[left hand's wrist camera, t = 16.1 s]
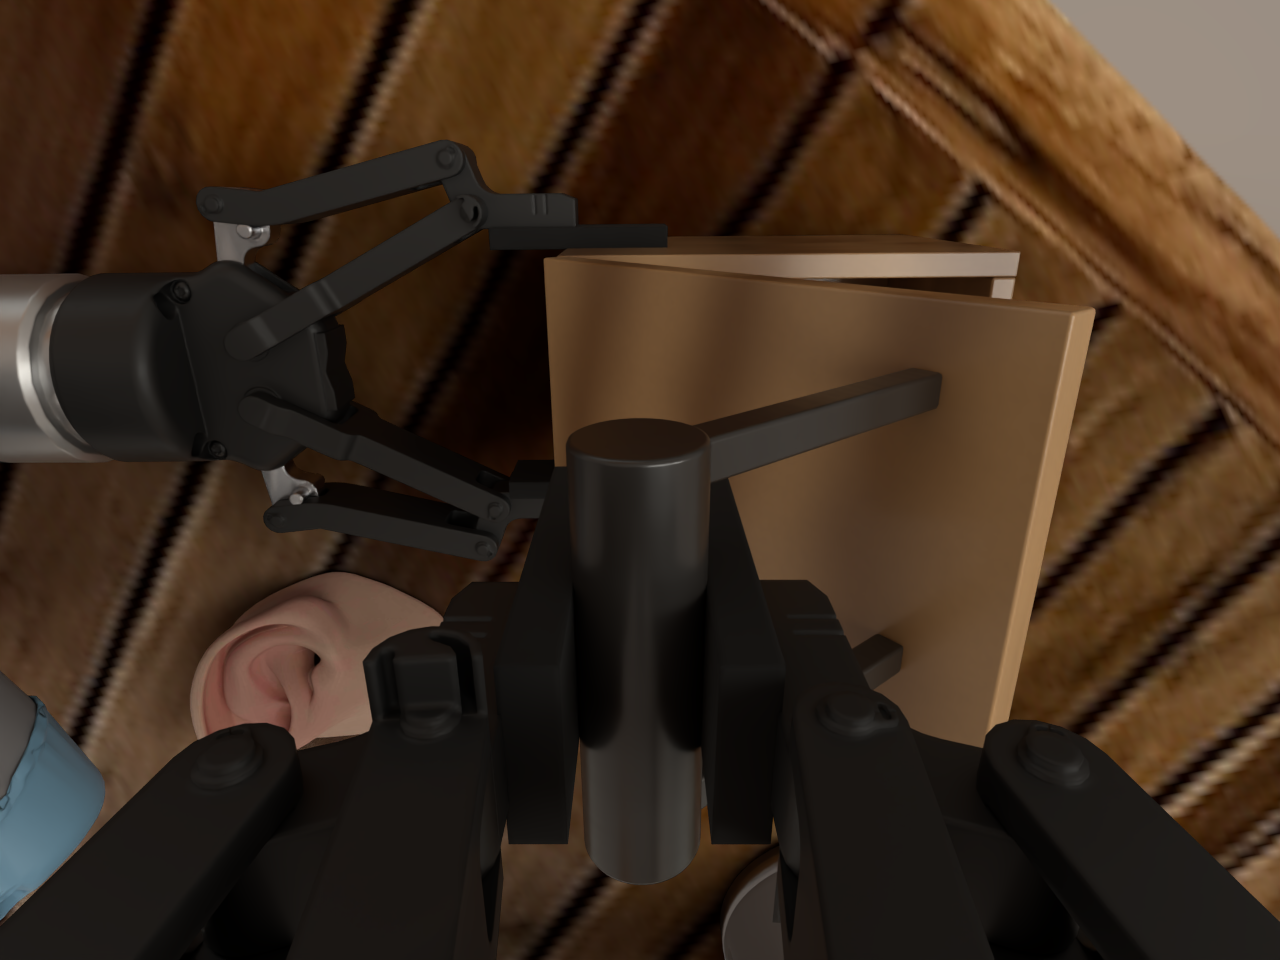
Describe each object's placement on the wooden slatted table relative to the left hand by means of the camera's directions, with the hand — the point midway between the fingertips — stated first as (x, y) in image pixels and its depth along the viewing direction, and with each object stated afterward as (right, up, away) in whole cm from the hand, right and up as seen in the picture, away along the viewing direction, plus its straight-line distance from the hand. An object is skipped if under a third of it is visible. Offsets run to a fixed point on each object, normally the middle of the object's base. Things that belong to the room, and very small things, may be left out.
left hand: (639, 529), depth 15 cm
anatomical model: (-18, -9, +27) cm, 34 cm away
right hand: (+1, +6, +15) cm, 16 cm away
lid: (+3, +2, +5) cm, 6 cm away
